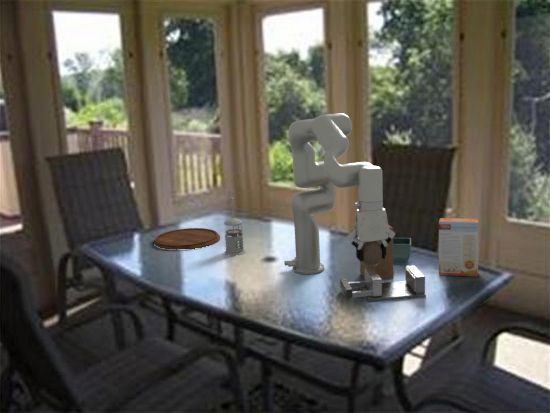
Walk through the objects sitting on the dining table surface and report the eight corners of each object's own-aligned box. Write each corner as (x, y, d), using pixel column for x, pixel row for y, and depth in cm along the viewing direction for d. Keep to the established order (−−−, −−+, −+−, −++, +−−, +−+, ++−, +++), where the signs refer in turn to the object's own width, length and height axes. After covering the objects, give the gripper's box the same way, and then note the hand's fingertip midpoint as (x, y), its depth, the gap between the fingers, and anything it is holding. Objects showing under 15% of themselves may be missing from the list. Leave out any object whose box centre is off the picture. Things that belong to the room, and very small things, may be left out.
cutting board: (185, 229, 313) (185, 224, 313) (234, 237, 295) (233, 231, 294) (138, 246, 288) (138, 240, 288) (188, 255, 270) (187, 249, 269)
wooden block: (394, 279, 226) (393, 227, 221) (368, 282, 224) (367, 230, 220) (384, 270, 235) (384, 220, 231) (359, 273, 234) (358, 223, 229)
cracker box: (478, 272, 228) (479, 218, 224) (477, 277, 223) (478, 222, 218) (439, 269, 233) (439, 217, 228) (438, 275, 228) (438, 221, 223)
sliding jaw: (346, 298, 206) (346, 281, 205) (340, 286, 218) (339, 270, 216) (381, 295, 207) (381, 279, 205) (373, 283, 218) (373, 267, 217)
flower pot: (411, 266, 239) (411, 244, 237) (388, 265, 241) (388, 243, 239) (411, 258, 248) (410, 237, 246) (388, 258, 249) (388, 237, 247)
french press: (220, 255, 266) (215, 199, 261) (231, 247, 277) (227, 193, 271) (240, 256, 263) (236, 200, 257) (251, 248, 273) (248, 194, 267)
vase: (357, 261, 199) (357, 236, 197) (377, 259, 201) (377, 233, 199) (364, 268, 193) (364, 242, 191) (385, 266, 194) (385, 239, 192)
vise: (368, 302, 206) (367, 282, 204) (359, 287, 219) (358, 268, 218) (425, 297, 207) (426, 277, 206) (413, 283, 221) (413, 264, 219)
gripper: (348, 210, 187) (349, 265, 191) (401, 205, 190) (401, 259, 194) (340, 205, 194) (341, 258, 198) (391, 200, 197) (392, 252, 202)
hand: (371, 258), depth 196 cm, fingers closed on vase, 6 cm apart
